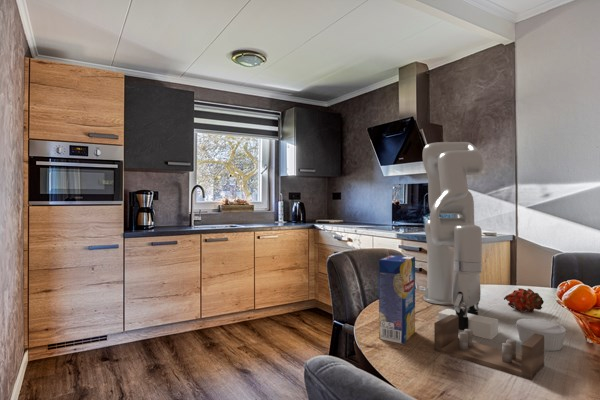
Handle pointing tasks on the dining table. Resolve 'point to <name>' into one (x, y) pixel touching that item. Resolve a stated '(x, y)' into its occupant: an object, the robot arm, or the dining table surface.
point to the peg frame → (489, 349)
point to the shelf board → (476, 324)
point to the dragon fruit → (524, 300)
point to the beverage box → (396, 298)
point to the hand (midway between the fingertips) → (467, 326)
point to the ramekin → (542, 332)
